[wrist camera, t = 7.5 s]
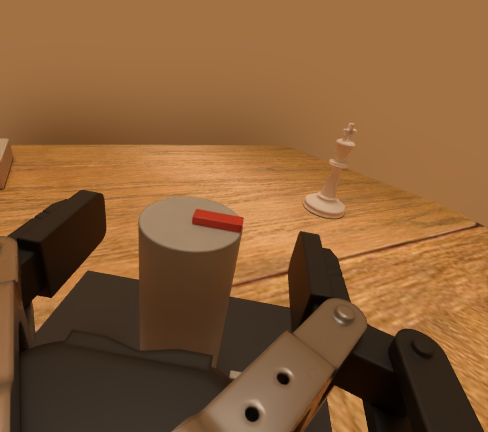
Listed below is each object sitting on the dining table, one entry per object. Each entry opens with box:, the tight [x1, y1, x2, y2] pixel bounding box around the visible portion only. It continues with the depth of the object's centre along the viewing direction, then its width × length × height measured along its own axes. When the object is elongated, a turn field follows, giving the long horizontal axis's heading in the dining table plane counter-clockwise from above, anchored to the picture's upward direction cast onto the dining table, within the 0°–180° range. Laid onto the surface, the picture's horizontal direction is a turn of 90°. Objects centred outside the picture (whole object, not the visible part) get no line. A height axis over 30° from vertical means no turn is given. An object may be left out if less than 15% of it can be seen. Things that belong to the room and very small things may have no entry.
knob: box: [138, 197, 244, 368], centre depth 12 cm, size 3×3×8 cm
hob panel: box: [35, 271, 332, 432], centre depth 14 cm, size 14×10×2 cm
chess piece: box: [303, 123, 357, 218], centre depth 33 cm, size 5×5×10 cm
